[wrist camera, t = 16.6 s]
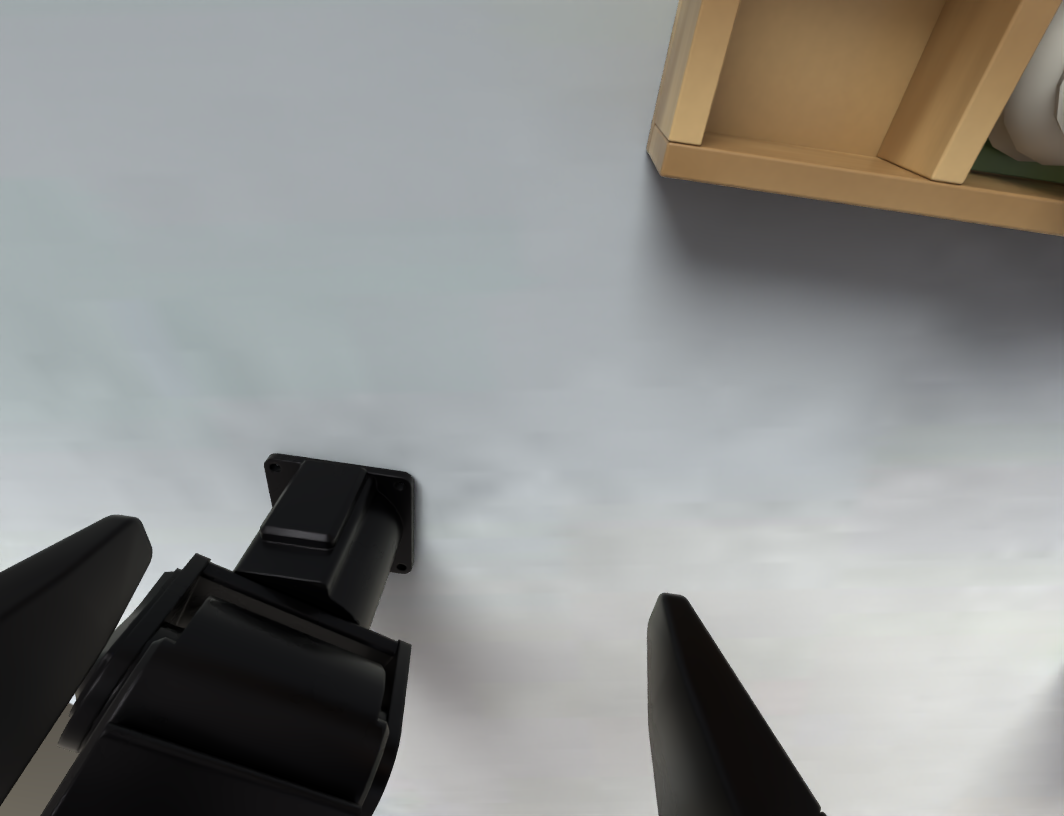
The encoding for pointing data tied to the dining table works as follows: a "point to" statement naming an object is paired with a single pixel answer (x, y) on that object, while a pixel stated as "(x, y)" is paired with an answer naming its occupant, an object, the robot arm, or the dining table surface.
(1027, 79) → the rook chess piece
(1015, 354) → the dining table surface
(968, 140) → the rack
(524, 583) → the dining table surface
